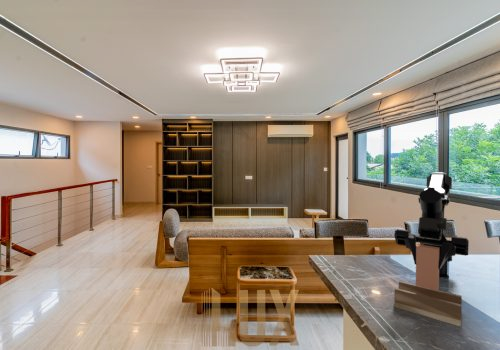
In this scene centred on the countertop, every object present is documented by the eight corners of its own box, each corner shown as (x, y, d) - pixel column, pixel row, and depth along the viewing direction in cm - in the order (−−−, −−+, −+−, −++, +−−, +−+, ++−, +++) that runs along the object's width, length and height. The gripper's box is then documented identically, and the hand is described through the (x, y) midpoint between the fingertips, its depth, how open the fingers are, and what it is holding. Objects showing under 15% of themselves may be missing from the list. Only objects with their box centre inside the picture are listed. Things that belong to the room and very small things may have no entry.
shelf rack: (399, 294, 88) (400, 279, 88) (461, 310, 78) (461, 294, 78) (393, 306, 80) (393, 290, 80) (460, 326, 70) (461, 308, 70)
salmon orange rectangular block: (417, 282, 82) (417, 244, 81) (438, 287, 78) (439, 247, 78) (415, 285, 80) (416, 246, 79) (438, 291, 76) (438, 249, 76)
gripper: (395, 204, 87) (387, 245, 79) (469, 210, 75) (468, 259, 67) (400, 224, 94) (393, 264, 85) (468, 232, 82) (467, 279, 74)
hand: (427, 266), depth 78 cm, fingers closed on salmon orange rectangular block, 5 cm apart
